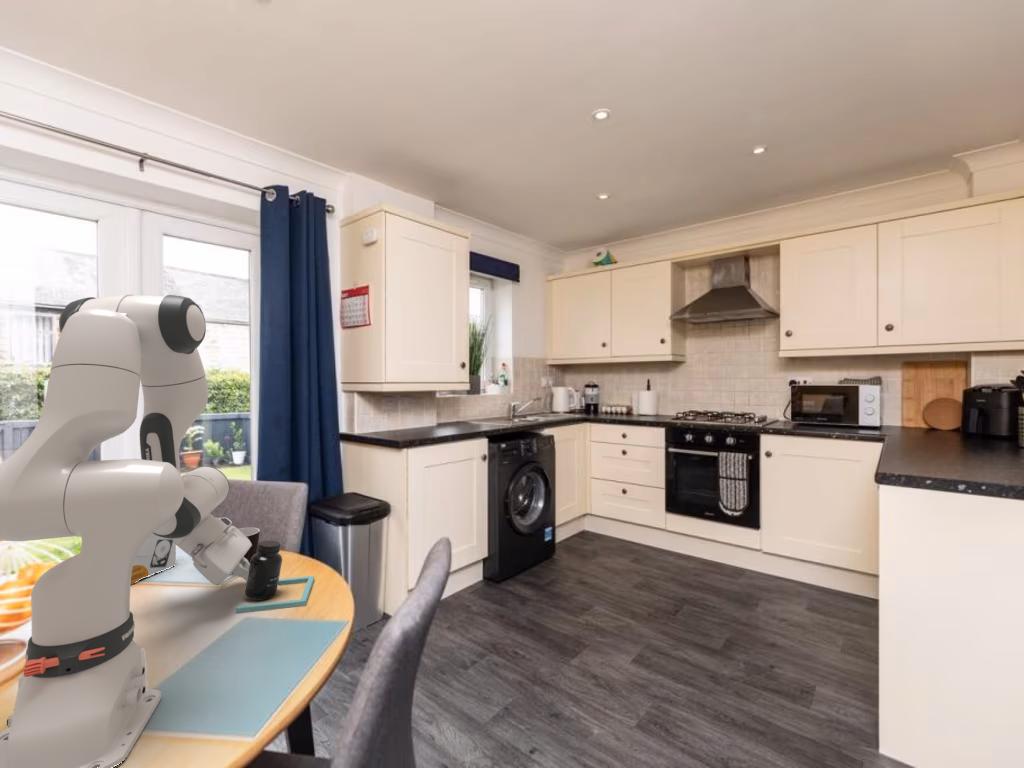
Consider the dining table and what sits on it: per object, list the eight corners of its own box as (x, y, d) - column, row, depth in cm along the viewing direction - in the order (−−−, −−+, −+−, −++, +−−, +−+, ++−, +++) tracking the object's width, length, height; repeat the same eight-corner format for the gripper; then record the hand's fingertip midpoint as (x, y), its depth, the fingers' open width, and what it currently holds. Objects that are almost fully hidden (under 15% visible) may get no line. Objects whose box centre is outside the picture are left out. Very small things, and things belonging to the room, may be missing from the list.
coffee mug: (228, 565, 133) (227, 529, 133) (262, 561, 135) (262, 526, 135) (215, 582, 122) (215, 543, 121) (254, 578, 124) (253, 539, 124)
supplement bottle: (275, 600, 112) (284, 549, 112) (242, 600, 110) (251, 548, 110) (277, 587, 118) (285, 539, 119) (246, 587, 116) (255, 538, 116)
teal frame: (305, 605, 109) (305, 601, 109) (235, 613, 106) (235, 608, 106) (314, 579, 123) (314, 575, 123) (252, 585, 120) (252, 581, 120)
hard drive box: (121, 590, 117) (120, 508, 117) (95, 587, 119) (94, 506, 119) (177, 565, 133) (176, 493, 132) (154, 563, 134) (153, 492, 134)
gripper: (199, 543, 101) (251, 584, 104) (229, 515, 121) (272, 551, 124) (175, 566, 100) (228, 607, 103) (209, 534, 120) (252, 570, 123)
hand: (252, 576), depth 113 cm, fingers closed, pressing on supplement bottle
